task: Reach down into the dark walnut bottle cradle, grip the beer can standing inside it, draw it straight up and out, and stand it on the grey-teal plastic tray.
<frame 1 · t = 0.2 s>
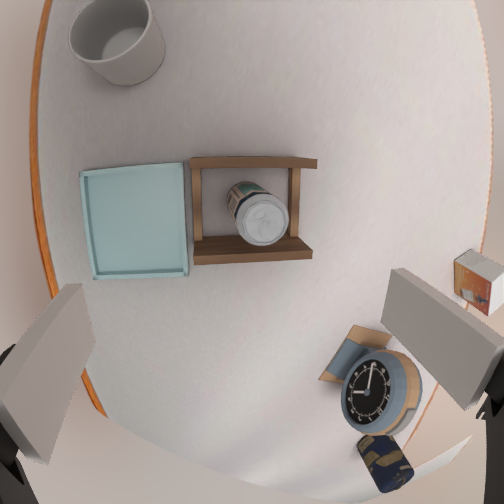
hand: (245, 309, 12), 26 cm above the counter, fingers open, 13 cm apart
beer can: (245, 200, 37), resting in cradle
cradle: (245, 200, 37), on the counter
small box: (461, 270, 48), on the counter
mug: (127, 46, 28), on the counter
tray: (135, 221, 35), on the counter
canister: (371, 437, 62), on the counter
alarm clock: (355, 356, 49), on the counter
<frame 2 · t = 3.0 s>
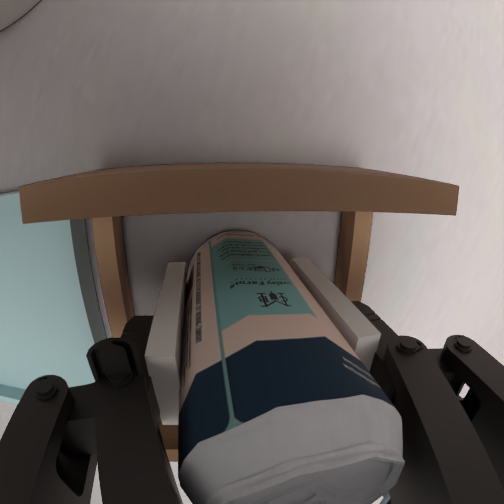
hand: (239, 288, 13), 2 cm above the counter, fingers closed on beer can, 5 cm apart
beer can: (235, 272, 15), resting in cradle, touching gripper
cradle: (235, 274, 15), on the counter
tray: (12, 309, 14), on the counter
when the fingers open (4 cm above the counter, at t = 8.7 s): beer can drops 1 cm, resting on tray.
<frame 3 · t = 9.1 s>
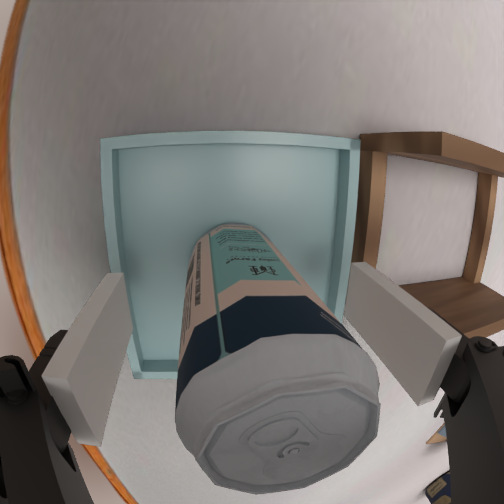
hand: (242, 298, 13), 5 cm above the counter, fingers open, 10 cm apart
beer can: (232, 263, 16), resting on tray
cradle: (429, 224, 19), on the counter
tray: (231, 260, 17), on the counter
canister: (439, 479, 43), on the counter
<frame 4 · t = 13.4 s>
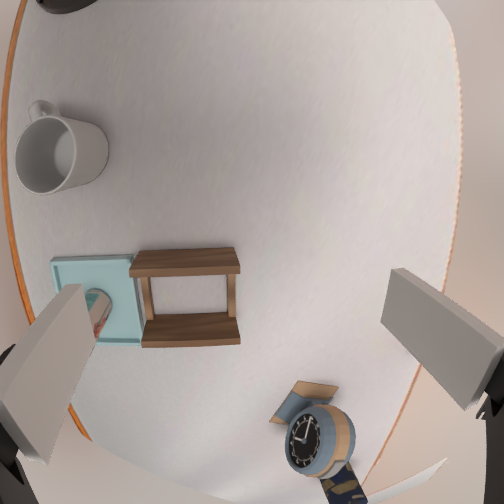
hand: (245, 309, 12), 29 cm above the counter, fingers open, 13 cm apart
beer can: (98, 301, 40), resting on tray
cradle: (188, 286, 42), on the counter
mug: (76, 142, 33), on the counter
tray: (99, 300, 40), on the counter
canister: (332, 465, 66), on the counter
alarm clock: (303, 404, 54), on the counter
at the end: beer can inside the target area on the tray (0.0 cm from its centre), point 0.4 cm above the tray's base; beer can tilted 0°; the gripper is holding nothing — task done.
